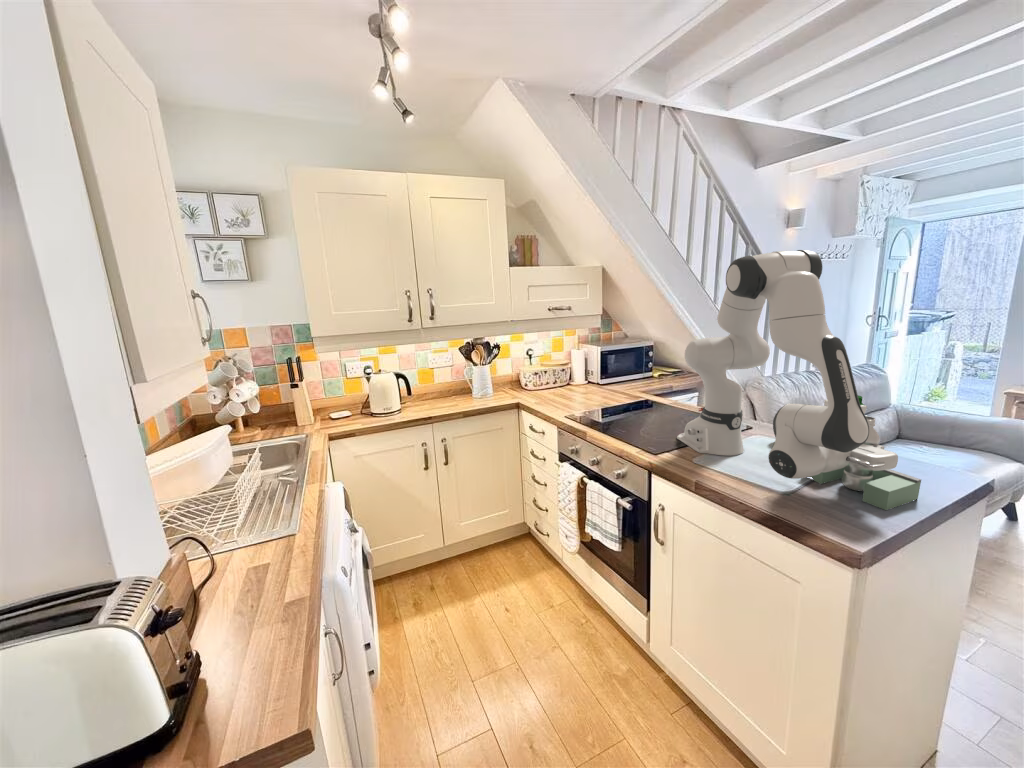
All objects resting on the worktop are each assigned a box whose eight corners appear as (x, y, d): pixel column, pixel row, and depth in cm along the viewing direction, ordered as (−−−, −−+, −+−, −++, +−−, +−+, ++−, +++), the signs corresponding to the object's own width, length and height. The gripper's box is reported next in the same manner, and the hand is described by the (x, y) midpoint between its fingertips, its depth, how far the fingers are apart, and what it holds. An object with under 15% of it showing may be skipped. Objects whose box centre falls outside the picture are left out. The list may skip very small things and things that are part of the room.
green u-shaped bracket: (803, 476, 114) (805, 458, 112) (832, 468, 117) (834, 451, 116) (885, 510, 95) (889, 489, 94) (917, 499, 99) (921, 479, 97)
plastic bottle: (838, 489, 106) (847, 418, 101) (842, 480, 110) (851, 412, 106) (870, 497, 101) (881, 423, 97) (873, 487, 105) (884, 416, 101)
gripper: (877, 455, 89) (916, 445, 93) (789, 429, 108) (825, 421, 112) (873, 481, 90) (912, 470, 94) (787, 450, 109) (822, 442, 113)
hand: (864, 443), depth 103 cm, fingers closed on plastic bottle, 6 cm apart
